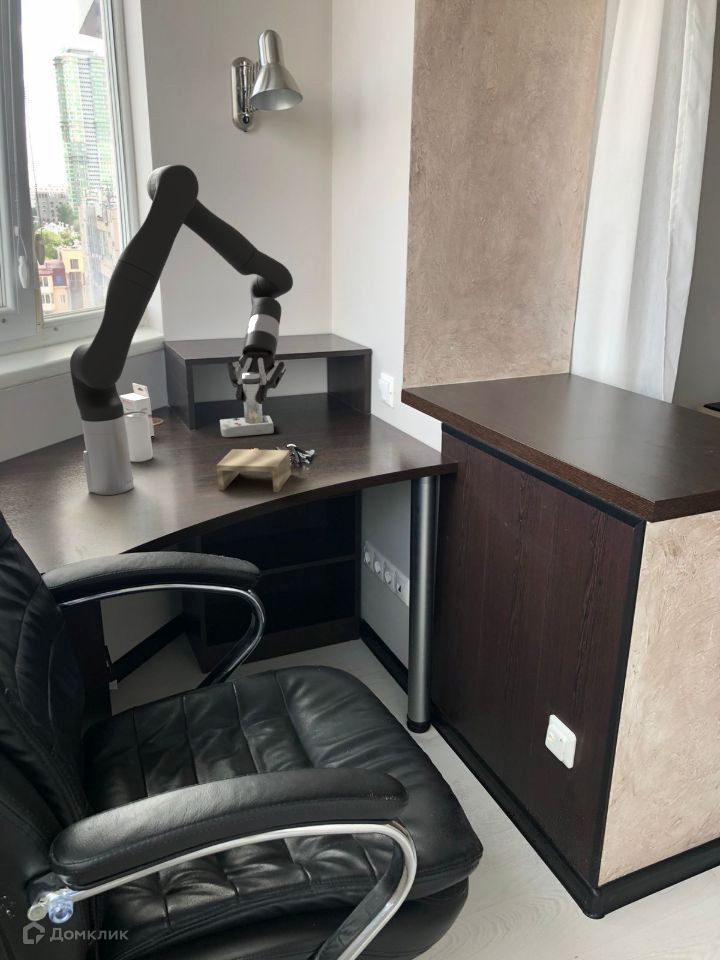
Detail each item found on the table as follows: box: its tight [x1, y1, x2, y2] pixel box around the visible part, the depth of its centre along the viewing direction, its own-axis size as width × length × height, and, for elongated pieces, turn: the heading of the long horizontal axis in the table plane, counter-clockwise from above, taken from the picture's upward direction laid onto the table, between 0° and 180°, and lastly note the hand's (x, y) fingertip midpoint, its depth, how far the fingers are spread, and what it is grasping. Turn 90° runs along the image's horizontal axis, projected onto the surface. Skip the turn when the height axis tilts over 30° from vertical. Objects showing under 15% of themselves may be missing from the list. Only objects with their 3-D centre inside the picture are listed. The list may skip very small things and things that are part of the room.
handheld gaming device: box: [219, 415, 275, 438], centre depth 216 cm, size 9×14×4 cm, turn 104°
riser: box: [216, 448, 292, 493], centre depth 175 cm, size 14×12×6 cm
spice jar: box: [242, 372, 263, 423], centre depth 170 cm, size 4×4×11 cm
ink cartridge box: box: [119, 382, 155, 437], centre depth 213 cm, size 9×5×15 cm, turn 47°
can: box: [124, 411, 154, 463], centre depth 193 cm, size 6×6×12 cm
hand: (250, 401), depth 169 cm, fingers closed on spice jar, 4 cm apart
